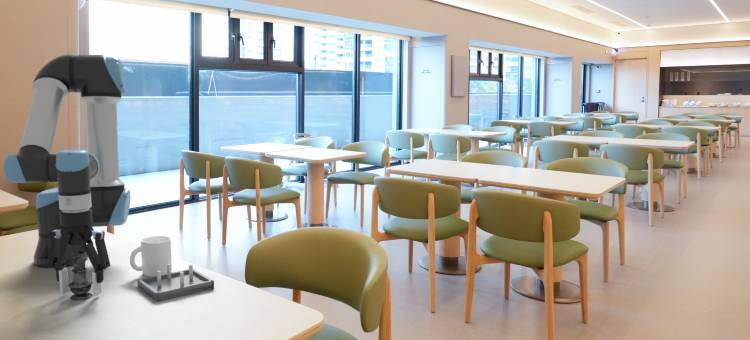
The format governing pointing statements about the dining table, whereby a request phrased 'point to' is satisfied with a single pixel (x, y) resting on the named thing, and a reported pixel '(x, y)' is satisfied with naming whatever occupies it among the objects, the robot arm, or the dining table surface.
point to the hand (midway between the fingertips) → (81, 293)
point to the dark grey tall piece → (80, 280)
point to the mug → (153, 255)
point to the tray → (175, 283)
